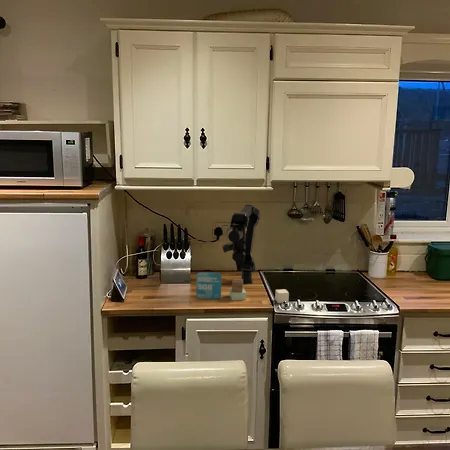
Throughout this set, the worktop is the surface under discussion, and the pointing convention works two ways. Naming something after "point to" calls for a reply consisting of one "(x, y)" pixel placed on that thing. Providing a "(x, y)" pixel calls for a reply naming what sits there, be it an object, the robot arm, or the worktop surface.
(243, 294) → the sage base block
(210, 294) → the data package
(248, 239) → the robot arm
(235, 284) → the walnut cube
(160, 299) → the worktop surface
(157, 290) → the worktop surface
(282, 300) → the offwhite cube
